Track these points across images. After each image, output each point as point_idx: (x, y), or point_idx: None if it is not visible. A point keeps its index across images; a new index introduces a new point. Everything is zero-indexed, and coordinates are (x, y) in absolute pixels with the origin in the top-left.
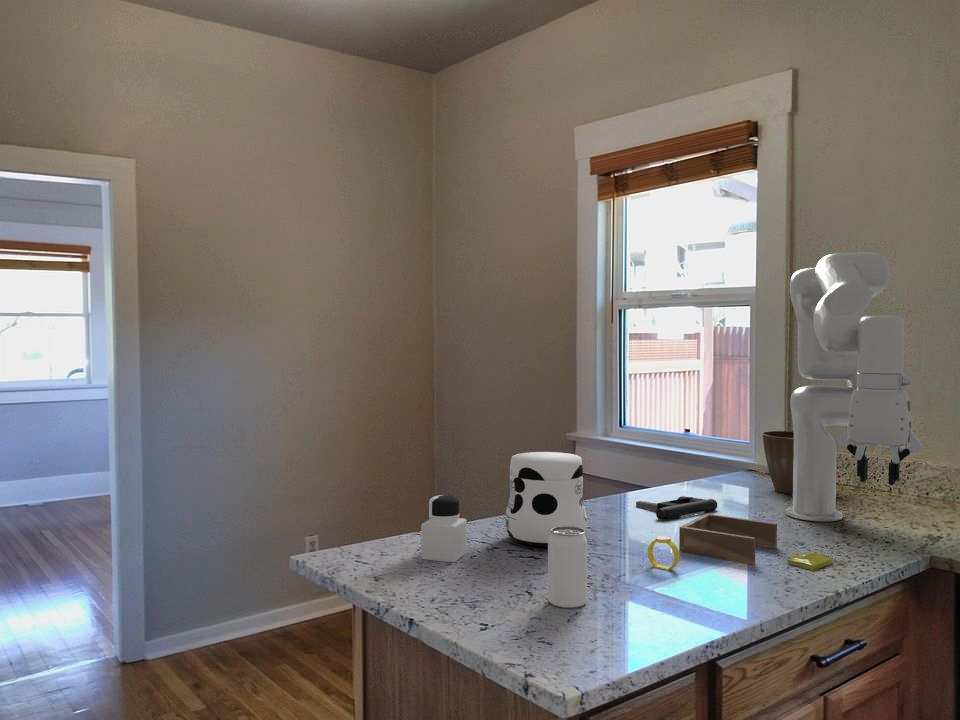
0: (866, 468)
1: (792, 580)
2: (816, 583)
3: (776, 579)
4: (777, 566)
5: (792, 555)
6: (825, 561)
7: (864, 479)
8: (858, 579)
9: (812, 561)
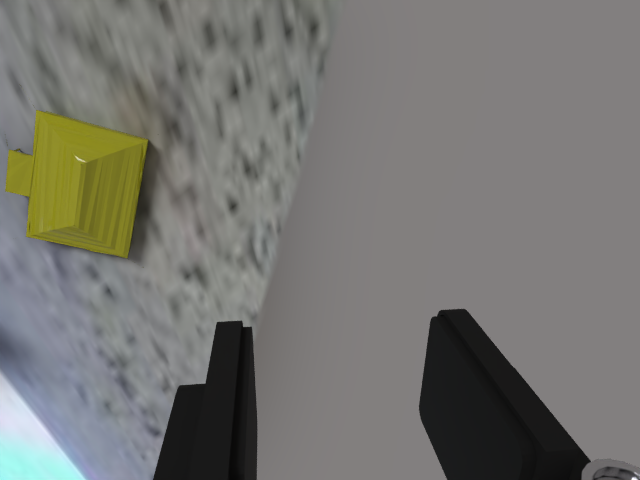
0: (251, 451)
1: (129, 364)
2: (186, 350)
3: (94, 380)
4: (31, 276)
5: (17, 182)
6: (137, 185)
7: (256, 436)
8: (263, 255)
9: (111, 232)
